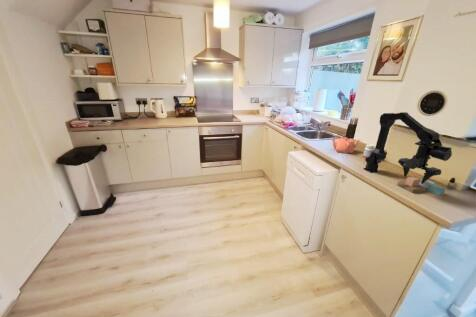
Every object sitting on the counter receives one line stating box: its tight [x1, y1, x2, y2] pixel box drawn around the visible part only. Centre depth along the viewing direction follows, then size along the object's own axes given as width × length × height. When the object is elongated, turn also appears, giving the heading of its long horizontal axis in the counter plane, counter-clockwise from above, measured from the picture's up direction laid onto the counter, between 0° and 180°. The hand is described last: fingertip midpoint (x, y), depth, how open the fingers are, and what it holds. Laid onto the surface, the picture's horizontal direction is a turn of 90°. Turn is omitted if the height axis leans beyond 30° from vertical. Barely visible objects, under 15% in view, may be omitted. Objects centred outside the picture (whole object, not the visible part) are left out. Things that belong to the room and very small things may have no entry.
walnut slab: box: [396, 180, 426, 194], centre depth 117 cm, size 9×9×3 cm
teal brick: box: [426, 183, 447, 196], centre depth 113 cm, size 6×4×4 cm, turn 15°
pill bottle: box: [362, 143, 375, 160], centre depth 161 cm, size 6×6×11 cm
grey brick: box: [419, 178, 437, 190], centre depth 119 cm, size 6×4×4 cm, turn 16°
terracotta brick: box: [405, 175, 422, 187], centre depth 116 cm, size 6×4×4 cm, turn 108°
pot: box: [330, 135, 361, 154], centre depth 178 cm, size 18×17×12 cm
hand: (413, 179), depth 115 cm, fingers open, 9 cm apart
